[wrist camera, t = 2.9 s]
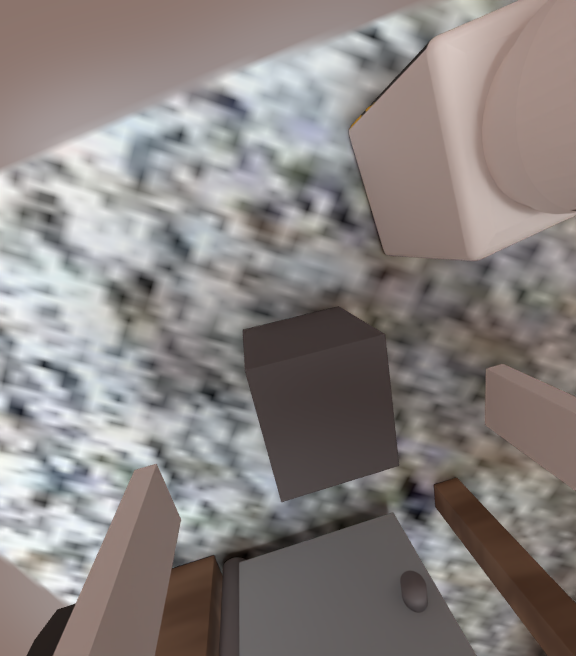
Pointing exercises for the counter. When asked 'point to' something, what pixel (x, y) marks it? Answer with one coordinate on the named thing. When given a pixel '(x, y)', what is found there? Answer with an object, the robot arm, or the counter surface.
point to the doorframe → (471, 528)
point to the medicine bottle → (476, 136)
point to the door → (338, 599)
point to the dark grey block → (321, 399)
